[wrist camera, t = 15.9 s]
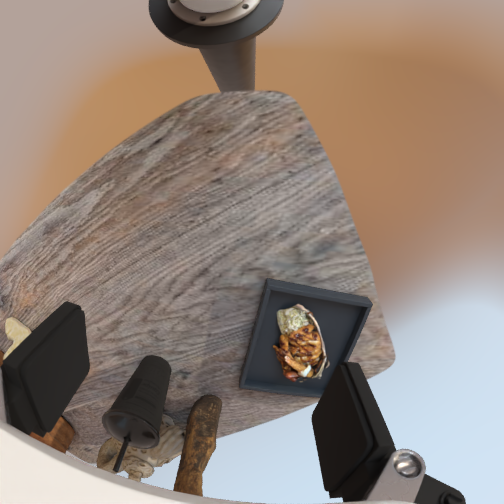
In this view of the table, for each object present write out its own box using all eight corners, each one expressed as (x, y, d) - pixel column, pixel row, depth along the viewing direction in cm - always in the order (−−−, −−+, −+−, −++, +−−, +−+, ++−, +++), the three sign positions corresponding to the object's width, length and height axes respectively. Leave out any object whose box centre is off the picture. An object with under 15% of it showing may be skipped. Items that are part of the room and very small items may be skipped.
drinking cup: (126, 368, 42) (79, 463, 23) (144, 339, 40) (91, 443, 21) (167, 391, 43) (135, 492, 24) (188, 365, 41) (158, 477, 22)
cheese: (15, 334, 44) (31, 405, 37) (-8, 324, 37) (6, 402, 31) (66, 309, 46) (86, 385, 40) (44, 296, 40) (62, 382, 34)
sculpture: (228, 416, 45) (216, 577, 16) (187, 402, 44) (153, 565, 15) (245, 392, 43) (239, 573, 14) (201, 377, 42) (165, 562, 13)
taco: (310, 297, 37) (315, 311, 34) (331, 364, 40) (336, 379, 37) (258, 315, 38) (259, 330, 34) (286, 378, 41) (288, 395, 38)
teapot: (173, 383, 42) (150, 456, 28) (215, 423, 45) (206, 493, 31) (96, 410, 46) (68, 464, 32) (134, 443, 49) (116, 498, 35)
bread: (59, 437, 51) (42, 470, 40) (-16, 355, 44) (-42, 383, 32) (85, 431, 49) (66, 470, 37) (-1, 338, 42) (-33, 369, 30)
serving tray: (266, 277, 37) (267, 284, 35) (367, 297, 38) (373, 304, 36) (239, 378, 42) (239, 388, 40) (326, 389, 43) (328, 398, 41)
